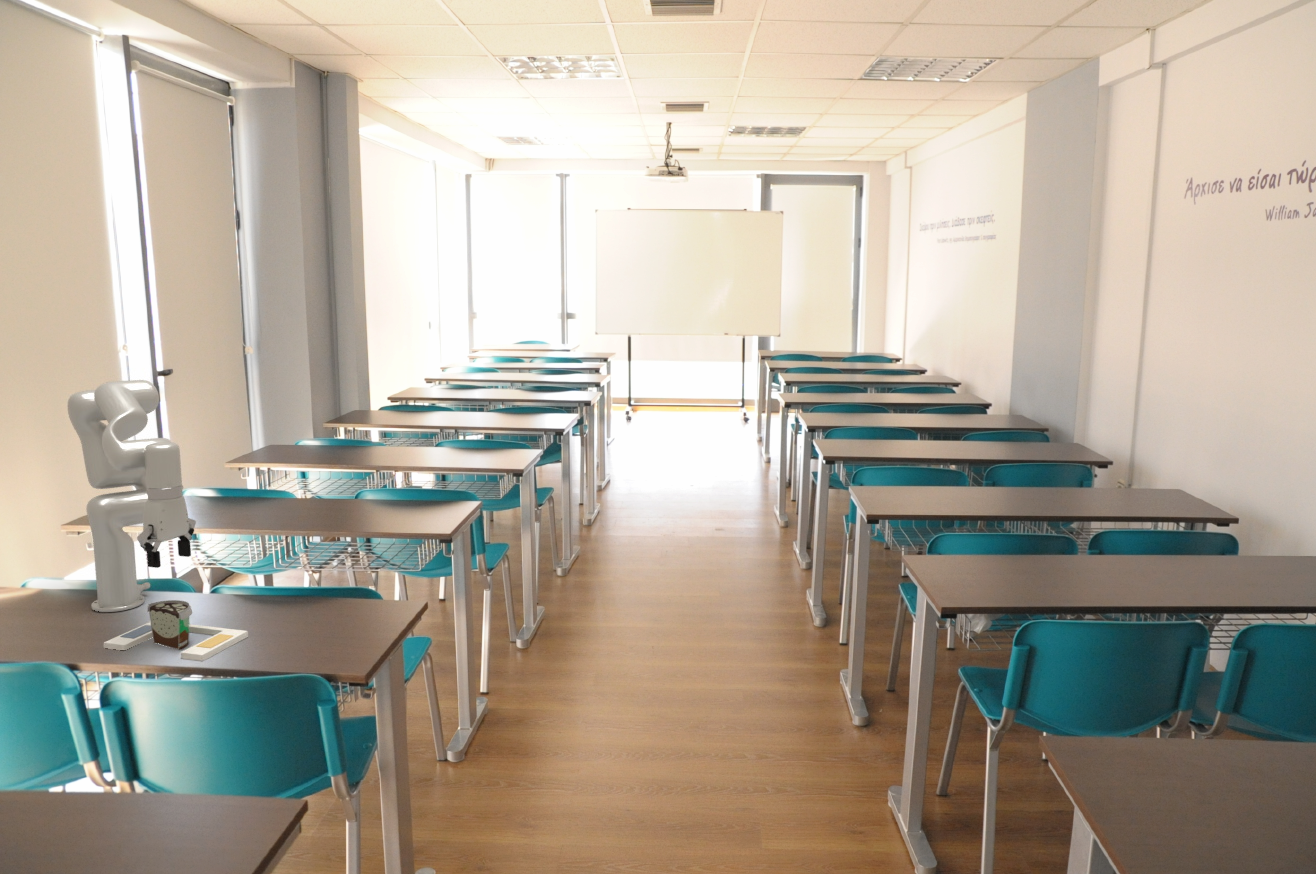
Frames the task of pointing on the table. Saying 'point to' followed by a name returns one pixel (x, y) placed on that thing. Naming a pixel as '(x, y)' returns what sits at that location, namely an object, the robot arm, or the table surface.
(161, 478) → the robot arm
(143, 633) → the label board
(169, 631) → the food container
